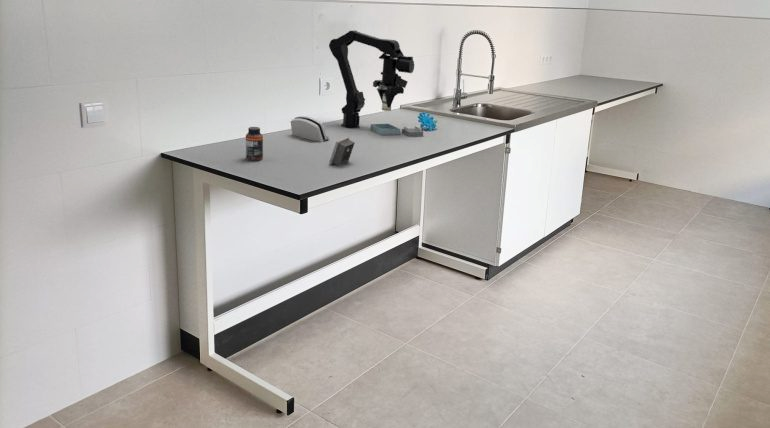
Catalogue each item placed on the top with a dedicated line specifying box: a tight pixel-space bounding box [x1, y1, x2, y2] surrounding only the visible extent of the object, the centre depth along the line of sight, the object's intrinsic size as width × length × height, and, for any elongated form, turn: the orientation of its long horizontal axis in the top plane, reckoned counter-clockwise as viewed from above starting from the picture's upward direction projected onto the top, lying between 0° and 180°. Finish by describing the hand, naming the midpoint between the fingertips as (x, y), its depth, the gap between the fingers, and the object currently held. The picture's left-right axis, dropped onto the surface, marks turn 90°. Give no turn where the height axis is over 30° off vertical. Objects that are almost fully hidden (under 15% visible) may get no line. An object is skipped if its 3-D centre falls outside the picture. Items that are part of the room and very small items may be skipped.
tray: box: [370, 123, 401, 136], centre depth 292 cm, size 9×11×2 cm
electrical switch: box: [329, 136, 356, 167], centre depth 236 cm, size 9×5×9 cm, turn 158°
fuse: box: [381, 93, 392, 112], centre depth 288 cm, size 4×4×7 cm
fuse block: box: [401, 125, 424, 138], centre depth 290 cm, size 7×7×3 cm
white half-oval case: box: [290, 115, 330, 143], centre depth 270 cm, size 17×5×10 cm, turn 53°
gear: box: [417, 111, 438, 132], centre depth 304 cm, size 11×6×10 cm
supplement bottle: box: [245, 126, 264, 162], centre depth 233 cm, size 6×6×11 cm
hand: (386, 106), depth 288 cm, fingers closed on fuse, 4 cm apart
